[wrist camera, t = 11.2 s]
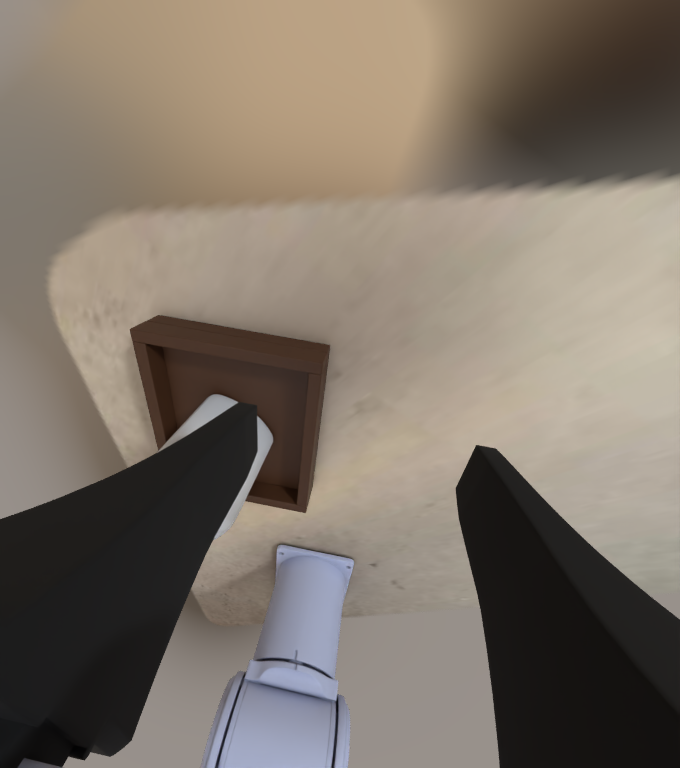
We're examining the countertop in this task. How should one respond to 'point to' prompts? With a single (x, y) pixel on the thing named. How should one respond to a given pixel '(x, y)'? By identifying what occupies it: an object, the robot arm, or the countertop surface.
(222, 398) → the eye dropper bottle
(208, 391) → the tray
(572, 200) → the countertop surface
